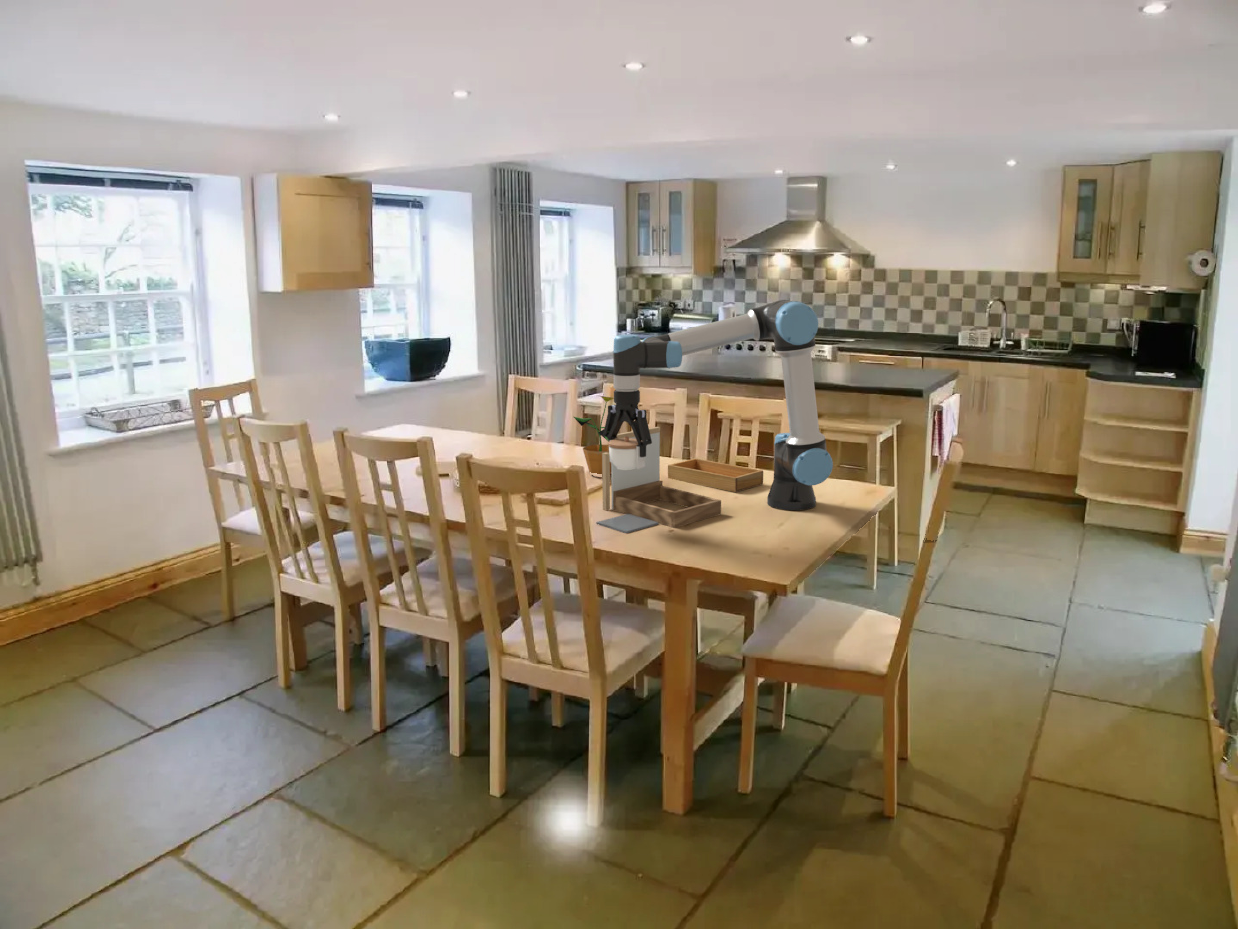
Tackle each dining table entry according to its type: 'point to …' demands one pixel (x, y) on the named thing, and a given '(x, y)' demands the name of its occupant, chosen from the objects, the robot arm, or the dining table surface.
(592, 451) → the potted plant
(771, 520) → the dining table surface
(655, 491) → the dark wooden box
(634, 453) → the lidded jar
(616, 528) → the slate mat
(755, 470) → the tray
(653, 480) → the white upright flat panel
